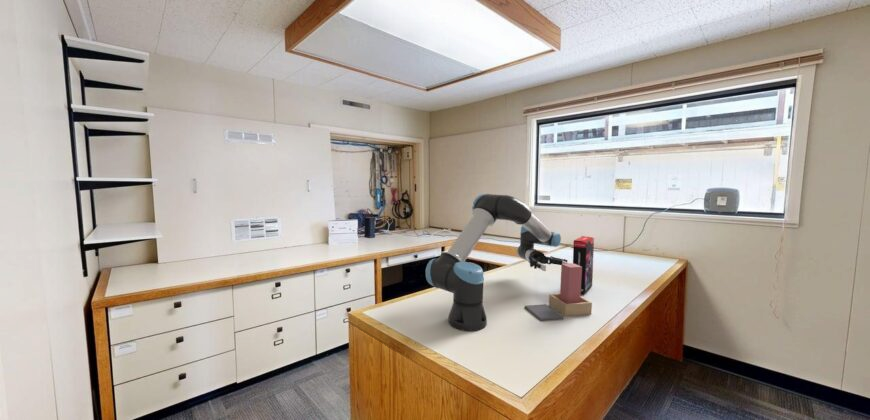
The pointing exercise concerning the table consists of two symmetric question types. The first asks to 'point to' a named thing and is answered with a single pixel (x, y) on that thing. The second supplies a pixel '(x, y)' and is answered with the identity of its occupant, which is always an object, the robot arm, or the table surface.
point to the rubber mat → (543, 312)
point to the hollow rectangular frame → (570, 306)
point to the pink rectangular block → (570, 283)
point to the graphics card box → (584, 260)
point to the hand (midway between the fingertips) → (558, 267)
